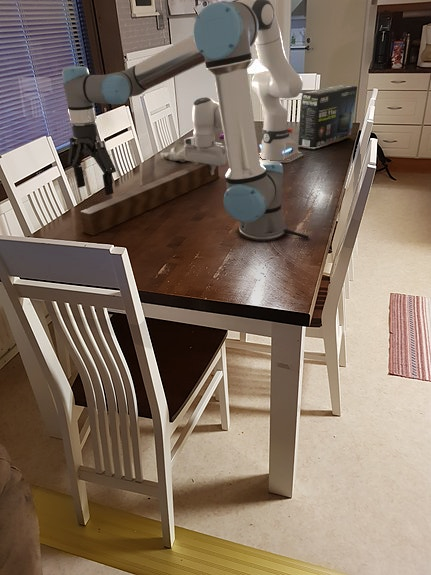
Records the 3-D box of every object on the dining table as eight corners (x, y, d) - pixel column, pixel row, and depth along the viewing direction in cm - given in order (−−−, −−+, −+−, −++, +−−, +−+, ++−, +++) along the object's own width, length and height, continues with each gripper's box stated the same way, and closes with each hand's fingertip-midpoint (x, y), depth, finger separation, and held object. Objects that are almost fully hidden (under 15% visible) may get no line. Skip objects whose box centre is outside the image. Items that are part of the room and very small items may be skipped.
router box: (314, 151, 231) (318, 94, 217) (296, 148, 237) (299, 92, 224) (352, 138, 251) (358, 85, 238) (335, 135, 258) (340, 83, 245)
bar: (93, 235, 152) (89, 214, 148) (84, 232, 155) (80, 211, 151) (218, 177, 201) (218, 160, 197) (210, 175, 203) (209, 158, 199)
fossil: (184, 156, 217) (163, 136, 220) (174, 174, 223) (154, 154, 227) (205, 153, 231) (186, 134, 234) (195, 171, 237) (176, 152, 240)
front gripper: (121, 124, 136) (130, 193, 147) (67, 117, 149) (79, 180, 160) (102, 129, 131) (113, 200, 142) (48, 121, 143) (61, 186, 154)
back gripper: (229, 141, 186) (230, 175, 193) (190, 136, 197) (192, 168, 204) (220, 145, 182) (221, 179, 189) (180, 139, 192) (183, 171, 199)
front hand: (95, 190), depth 151 cm, fingers open, 13 cm apart
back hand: (205, 173), depth 196 cm, fingers closed on bar, 5 cm apart
